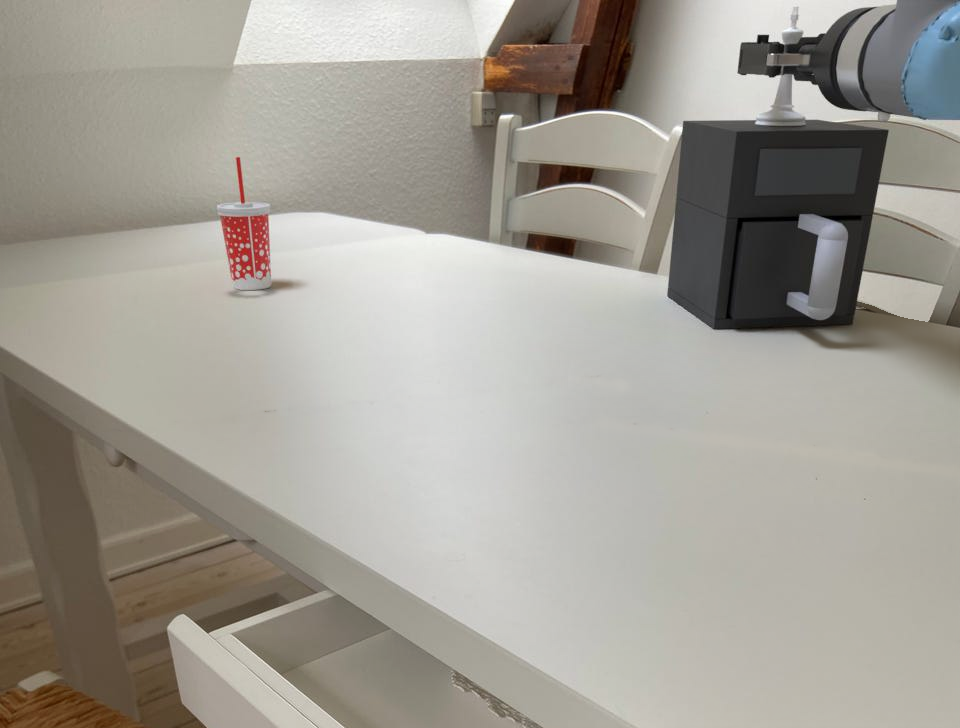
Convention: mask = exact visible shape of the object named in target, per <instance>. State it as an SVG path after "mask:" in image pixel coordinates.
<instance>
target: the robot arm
mask: <svg viewBox="0 0 960 728" xmlns="http://www.w3.org/2000/svg"><path fill="white" fill-rule="evenodd" d="M769 40H770V34H757V36H756V41H743V42H740V46H739V53H738V54H739V55H738V63H737V74H738V75H740V76H747V75H756V76H767V77H768V78H770V79H771V78H773V79H774V78H775V77H777V76H781V75H785V74H792V77H793V79H794V81H796V82H809V83H811V84H812V85H813V86H817V87H818V89H819V92H820V93H821V95H822V96H823V98H824V99H825V100H826V101H827V102H828V103H830V105H832V106H834V107H835V108H838V109H841V110H848V111H855V112H856V111H857V112H870V113H877V121H879V122H880V123H887V122H889V120H890V118H891V115H894V116H901V117H907V118H908V117H909V118H915V119H919V120H923V121H926V120H929V121H960V0H896V3H895V4H885V5H880V6H867V7H860V8H859V7H858V8H855V9H852V10H850V11H848V12H846V13H845V14H843V15H842V16H840V17H839V18H838V19H836V21H834V22H833V23H832V24H831V26H830V27H829V28H828V30H827V31H826V32H825V33H824V32H823V33H821V32H820V33H819V34H818V35H817V36H802V37H801V38H800V40H799V42H798V43H797V44H783V43H781V42H780V41H769Z"/></svg>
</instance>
